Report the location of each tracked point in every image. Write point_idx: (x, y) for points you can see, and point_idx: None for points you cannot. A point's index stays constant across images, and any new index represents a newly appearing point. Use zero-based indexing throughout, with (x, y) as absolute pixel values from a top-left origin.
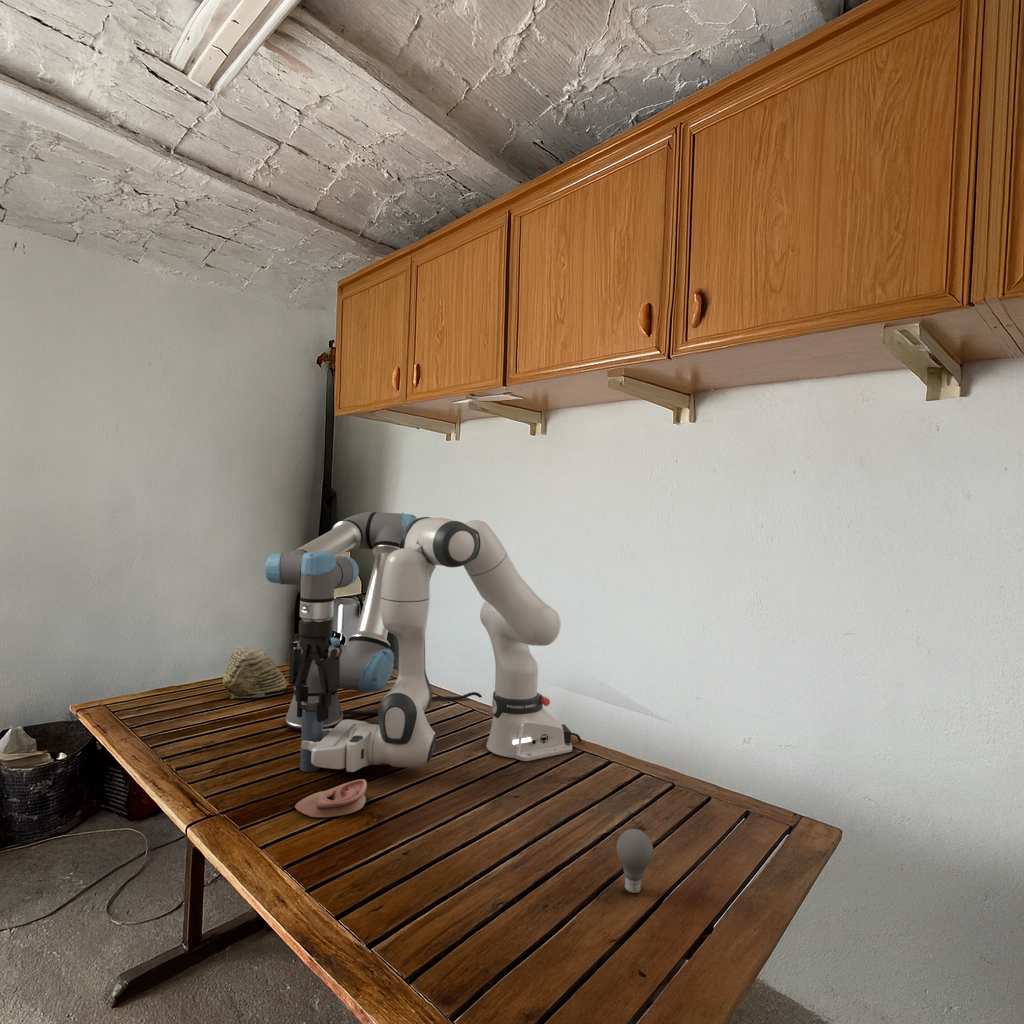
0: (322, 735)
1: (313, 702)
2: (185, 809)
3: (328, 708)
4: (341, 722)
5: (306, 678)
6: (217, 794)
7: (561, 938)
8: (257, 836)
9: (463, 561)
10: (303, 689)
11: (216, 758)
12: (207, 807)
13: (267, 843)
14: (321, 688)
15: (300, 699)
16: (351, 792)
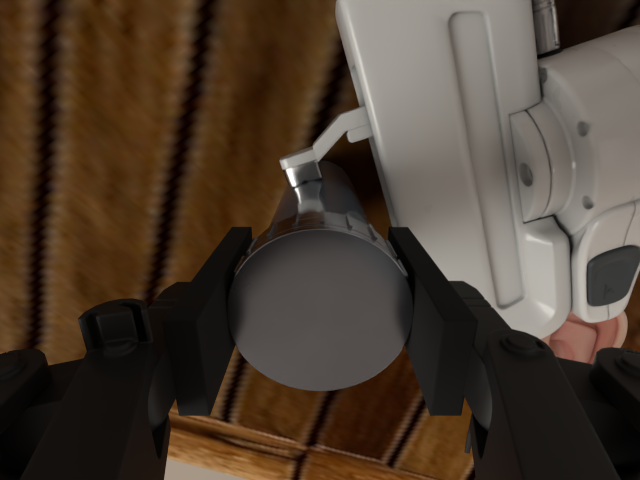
0: (357, 198)
1: (367, 363)
2: (236, 461)
3: (426, 252)
4: (370, 44)
5: (139, 412)
6: (233, 403)
7: None
8: (436, 468)
9: None
10: (206, 375)
11: (32, 275)
12: (266, 442)
13: (468, 475)
14: (474, 458)
15: (231, 349)
16: (581, 342)
